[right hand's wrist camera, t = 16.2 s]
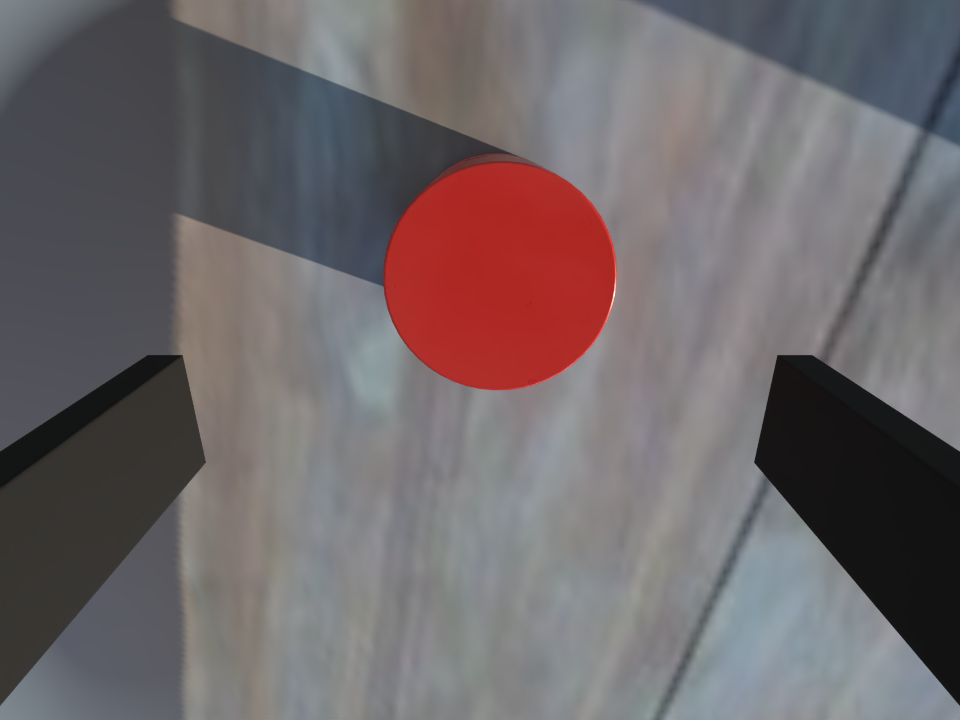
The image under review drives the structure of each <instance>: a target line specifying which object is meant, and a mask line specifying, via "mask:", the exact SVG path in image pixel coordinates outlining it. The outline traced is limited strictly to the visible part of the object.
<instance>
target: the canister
mask: <svg viewBox="0 0 960 720" xmlns="http://www.w3.org/2000/svg"><path fill="white" fill-rule="evenodd" d="M616 282H617V267H616V257H615V252H614V247H613V243H612V240H611V237H610V234H609V231H608V229H607V227H606V225H605V223H604V221H603V219H602V217H601V216H600V214H599V213H598V211H597V210H596V209H595V207H594V206H593V204H592V203H591V202H590V201H589V200H588V199H587V198H586V197H585V196H584V194H583V193H582V192H581V191H579V190H578V189H577V188H576V187H574V186H573V185H572V184H571V183H569V182H568V181H566V180H565V179H563V178H561V177H560V176H558V175H556V174H555V173H553V172H551V171H549V170H547V169H545V168H543V167H541V166H539V165H537V164H535V163H534V162H531V161H529V160H527V159H524V158H522V157H518V156H514V155H510V154H502V153H487V154H481V155H476V156H472V157H469V158H466V159H464V160H461V161H459V162H457V163H455V164H453V165H452V166H450V167H449V168H447V169H446V170H444V171H443V172H442V173H441V174H440V175H439V176H437V177H436V178H435V179H434V180H433V181H432V182H431V183H430V184H429V185H428V186H427V187H426V188H425V189H424V190H423V191H422V192H421V193H420V194H419V195H417V197H416V198H415V199H414V200H413V201H412V202H411V203H410V205H409V206H408V207H407V208H406V210H405V211H404V213H403V214H402V216H401V217H400V219H399V220H398V222H397V224H396V226H395V228H394V230H393V232H392V234H391V237H390V240H389V244H388V247H387V250H386V255H385V261H384V272H383V284H384V295H385V299H386V304H387V308H388V311H389V314H390V316H391V319H392V322H393V324H394V326H395V328H396V330H397V332H398V334H399V335H400V337H401V338H402V340H403V341H404V343H405V344H406V345H407V347H408V348H409V349H410V350H411V351H412V352H413V354H414V355H415V356H416V357H417V358H418V359H419V360H421V361H422V362H423V363H424V364H425V365H426V366H428V367H429V368H431V369H432V370H434V371H435V372H437V373H438V374H440V375H441V376H444V377H446V378H448V379H450V380H452V381H454V382H457V383H460V384H462V385H465V386H469V387H474V388H478V389H486V390H511V389H519V388H524V387H528V386H532V385H535V384H538V383H541V382H543V381H546V380H548V379H550V378H552V377H554V376H556V375H558V374H559V373H561V372H563V371H564V370H566V369H567V368H568V367H570V366H571V365H573V364H574V363H575V362H576V361H577V360H578V359H579V358H580V357H582V356H583V355H584V354H585V353H586V351H587V350H588V349H589V348H590V347H591V346H592V344H593V343H594V342H595V340H596V339H597V337H598V336H599V334H600V333H601V331H602V329H603V327H604V325H605V323H606V321H607V319H608V317H609V314H610V311H611V308H612V305H613V301H614V296H615V292H616Z"/></svg>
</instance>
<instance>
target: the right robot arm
mask: <svg viewBox="0 0 960 720" xmlns="http://www.w3.org/2000/svg"><path fill="white" fill-rule="evenodd" d="M205 463H206V461H205V457H204V452H203V447H202V443H201V438H200V434H199V429H198V424H197V420H196V415H195V411H194V406H193V401H192V397H191V392H190V388H189V383H188V378H187V374H186V369H185V364H184V360H183V355H147V356H146V357H144V358H143V359H141V360H140V361H138V362H137V363H135V364H134V365H132V366H131V367H129V368H127V369H126V370H124V371H123V372H121V373H120V374H118V375H117V376H115V377H114V378H112V379H111V380H109V381H108V382H106V383H105V384H103V385H102V386H100V387H98V388H97V389H95V390H94V391H92V392H91V393H89V394H88V395H86V396H85V397H83V398H82V399H80V400H79V401H77V402H75V403H74V404H72V405H71V406H69V407H68V408H66V409H65V410H63V411H62V412H60V413H59V414H57V415H56V416H54V417H52V418H51V419H50V420H48V421H46V422H45V423H43V424H42V425H40V426H39V427H37V428H36V429H34V430H33V431H31V432H30V433H28V434H27V435H25V436H23V437H22V438H20V439H19V440H17V441H16V442H14V443H13V444H11V445H10V446H8V447H7V448H5V449H4V450H2V451H0V705H1V704H2V703H3V702H4V701H5V699H6V698H7V697H8V696H9V695H10V693H11V692H12V691H13V690H14V689H15V688H16V686H17V685H18V684H19V683H20V682H21V680H22V679H23V678H24V677H25V676H26V674H27V673H28V672H29V671H30V670H31V669H32V667H33V666H34V665H35V664H36V663H37V661H38V660H39V659H40V658H41V657H42V656H43V654H44V653H45V652H46V651H47V650H48V648H49V647H50V646H51V645H52V644H53V643H54V641H55V640H56V639H57V638H58V637H59V635H60V634H61V633H62V632H63V631H64V629H65V628H66V627H67V626H68V625H69V624H70V622H71V621H72V620H73V619H74V618H75V617H76V615H77V614H78V613H79V612H80V611H81V609H82V608H83V607H84V606H85V605H86V604H87V602H88V601H89V600H90V599H91V598H92V596H93V595H94V594H95V593H96V592H97V590H98V589H99V588H100V587H101V586H102V585H103V583H104V582H105V581H106V580H107V579H108V578H109V576H110V575H111V574H112V573H113V572H114V570H115V569H116V568H117V567H118V566H119V564H120V563H121V562H122V561H123V560H124V559H125V557H126V556H127V555H128V554H129V553H130V551H131V550H132V549H133V548H134V547H135V545H136V544H137V543H138V542H139V541H140V540H141V538H142V537H143V536H144V535H145V534H146V533H147V531H148V530H149V529H150V528H151V527H152V525H153V524H154V523H155V522H156V521H157V520H158V518H159V517H160V516H161V515H162V514H163V512H164V511H165V510H166V509H167V508H168V507H169V505H170V504H171V503H172V502H173V501H174V499H175V498H176V497H177V496H178V495H179V494H180V492H181V491H182V490H183V489H184V488H185V486H186V485H187V484H188V483H189V482H190V481H191V479H192V478H193V477H194V476H195V475H196V473H197V472H198V471H199V470H200V469H201V468H202V466H203V465H204V464H205ZM754 463H755V464H756V465H757V466H758V468H759V469H760V470H761V471H762V472H763V473H764V475H765V476H766V477H767V478H768V479H769V481H770V482H771V483H772V484H773V485H774V486H775V488H776V489H777V490H778V491H779V492H780V494H781V495H782V496H783V497H784V498H785V499H786V501H787V502H788V503H789V504H790V505H791V507H792V508H793V509H794V510H795V511H796V512H797V514H798V515H799V516H800V517H801V518H802V520H803V521H804V522H805V523H806V524H807V525H808V527H809V528H810V529H811V530H812V531H813V533H814V534H815V535H816V536H817V537H818V538H819V540H820V541H821V542H822V543H823V544H824V546H825V547H826V548H827V549H828V550H829V551H830V553H831V554H832V555H833V556H834V557H835V559H836V560H837V561H838V562H839V563H840V565H841V566H842V567H843V568H844V569H845V570H846V572H847V573H848V574H849V575H850V576H851V578H852V579H853V580H854V581H855V582H856V583H857V585H858V586H859V587H860V588H861V589H862V591H863V592H864V593H865V594H866V595H867V596H868V598H869V599H870V600H871V601H872V602H873V604H874V605H875V606H876V607H877V608H878V609H879V611H880V612H881V613H882V614H883V615H884V617H885V618H886V619H887V620H888V621H889V622H890V624H891V625H892V626H893V627H894V628H895V630H896V631H897V632H898V633H899V634H900V635H901V637H902V638H903V639H904V640H905V641H906V643H907V644H908V645H909V646H910V647H911V648H912V650H913V651H914V652H915V653H916V654H917V656H918V657H919V658H920V659H921V660H922V661H923V663H924V664H925V665H926V666H927V667H928V669H929V670H930V671H931V672H932V673H933V675H934V676H935V677H936V678H937V679H938V680H939V682H940V683H941V684H942V685H943V686H944V688H945V689H946V690H947V691H948V692H949V693H950V695H951V696H952V697H953V698H954V699H955V701H956V702H957V703H958V704H959V705H960V451H958V450H956V449H955V448H953V447H952V446H950V445H949V444H947V443H946V442H944V441H943V440H941V439H940V438H938V437H937V436H935V435H934V434H932V433H930V432H929V431H927V430H926V429H924V428H923V427H921V426H920V425H918V424H917V423H915V422H914V421H912V420H911V419H909V418H908V417H906V416H904V415H903V414H901V413H900V412H898V411H897V410H895V409H894V408H892V407H891V406H889V405H888V404H886V403H885V402H883V401H881V400H880V399H878V398H877V397H875V396H874V395H872V394H871V393H869V392H868V391H866V390H865V389H863V388H862V387H860V386H859V385H857V384H855V383H854V382H852V381H851V380H849V379H848V378H846V377H845V376H843V375H842V374H840V373H839V372H837V371H836V370H834V369H833V368H831V367H829V366H828V365H826V364H825V363H823V362H822V361H820V360H819V359H817V358H816V357H814V356H813V355H777V360H776V364H775V369H774V374H773V378H772V383H771V388H770V392H769V397H768V401H767V406H766V411H765V415H764V420H763V424H762V429H761V434H760V438H759V443H758V447H757V452H756V457H755V461H754Z"/></svg>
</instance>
